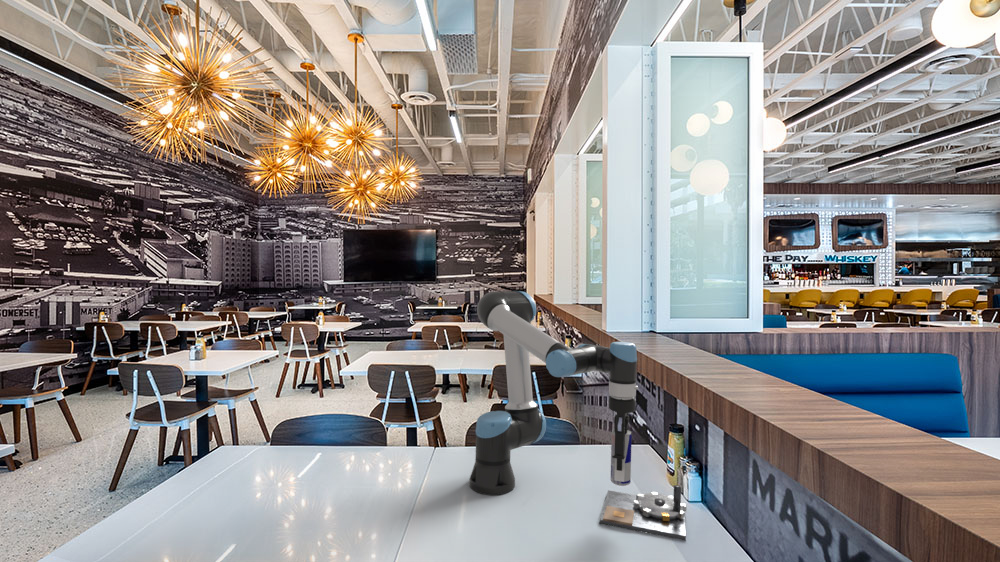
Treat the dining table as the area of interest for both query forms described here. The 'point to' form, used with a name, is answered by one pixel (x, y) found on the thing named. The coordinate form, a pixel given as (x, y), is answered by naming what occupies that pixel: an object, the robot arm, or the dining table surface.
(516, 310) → the robot arm
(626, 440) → the beverage can
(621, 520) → the marked pad
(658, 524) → the base plate
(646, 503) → the index wheel
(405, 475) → the dining table surface
